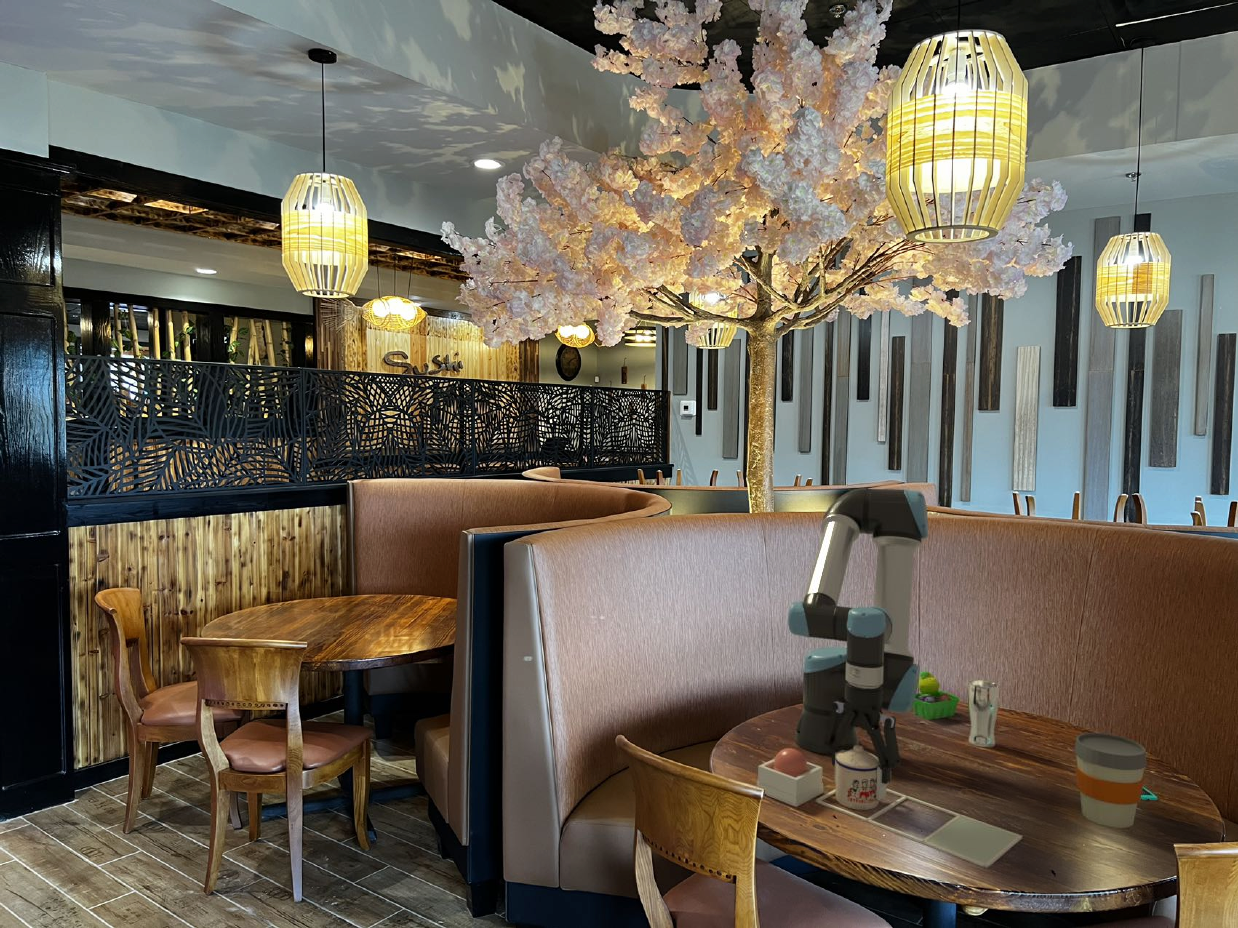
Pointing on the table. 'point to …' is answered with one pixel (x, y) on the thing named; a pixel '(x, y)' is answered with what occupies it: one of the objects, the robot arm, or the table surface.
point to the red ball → (790, 762)
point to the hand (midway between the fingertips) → (859, 789)
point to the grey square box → (790, 784)
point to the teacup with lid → (857, 778)
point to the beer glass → (982, 712)
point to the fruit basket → (933, 699)
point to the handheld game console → (1147, 795)
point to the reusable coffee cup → (1109, 777)
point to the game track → (952, 834)
